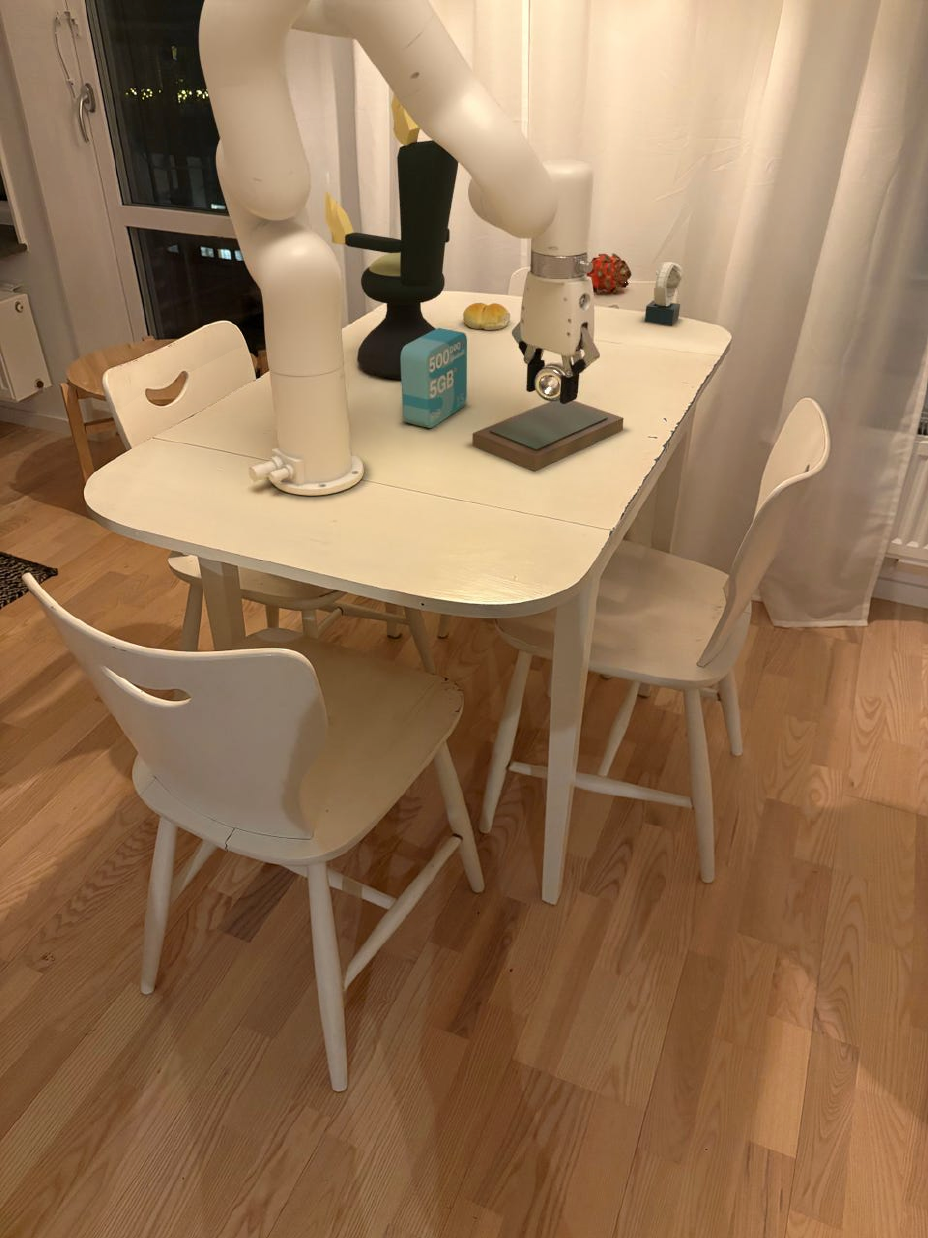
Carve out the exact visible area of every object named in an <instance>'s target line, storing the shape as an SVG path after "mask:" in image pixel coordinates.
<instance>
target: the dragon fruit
mask: <svg viewBox="0 0 928 1238" xmlns="http://www.w3.org/2000/svg"><path fill="white" fill-rule="evenodd" d="M590 262H591V263H592V264H593V269H592V271H591V272H590V273H587V275H586V276H588V277H591V280H592V285H593V291H596V292H597V294H598V295H600V294H602V293H605V291H607V292H608V294H615V293H617V288H618V289H624V288H627V287H628V286H629V285H630V283H629V280H630V279H631V277H632V275H633V274H632V272H631V271H632V270H630V266H629V265H628V264H627V262H626V261H625V260H623V259H622V258H621V257H620V256H619V255H617V253H613V252H612V253H611V256H610V255H609V254H607V253H598V256H597V257H592V259H591V261H590ZM625 282H626V283H625Z"/></svg>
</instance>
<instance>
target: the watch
mask: <svg viewBox="0 0 928 1238" xmlns="http://www.w3.org/2000/svg"><path fill="white" fill-rule="evenodd" d="M655 275H656V278H655V285H654V289H653V291H654V293H653V300H651V302H649V303H648V304H647V305H646V307H645V315H644V323H648V324H655V325H663V326H667V327H668V326H669V327H672V326H673V325H674V324H676V323H677V322H678V321H679V316H680V309H681V308H680V307H681V303H676V302H673V300H674V298H675V294H676V290H677V289H678V288H679V286H680V284H681V282H682V280H683V278H684V276H685V273H684V270H683V267H681V266H680V265H679V264H678V263H676V262H672V261H666V262H664V261H663V262H661V264H660V265H659V268H658V270H656V271H655Z"/></svg>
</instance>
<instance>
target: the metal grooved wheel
mask: <svg viewBox="0 0 928 1238" xmlns="http://www.w3.org/2000/svg"><path fill="white" fill-rule="evenodd" d="M564 375H565V372H564V367H563V362H560V361H550V362H548V363H545V366H544V367H543V368H542V369H541V370H539V371H538V373H537V374H536V376H535V380H534V386H535V389H536V390H535V392H536V393H537V395H538V396H539V397H540V398H541V399H543V400H545V401H547V402H550V401H557V400H560V386H561V377H562V376H564ZM552 378H554V379H556V380H557V383H554V381H553V380H552Z"/></svg>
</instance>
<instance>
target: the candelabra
mask: <svg viewBox="0 0 928 1238" xmlns="http://www.w3.org/2000/svg"><path fill="white" fill-rule="evenodd" d="M390 108H391V112H392V118H393V133H394V135H395V138H396V140H397V141H398V142H399V143H400V144H401V146H400V147H399V149H398V152H397V157H396V161H397V182H398V200H399V201H398V203H399V221H400V239H399V238H395V237H388V236H383V235H376V234H369V233H363V232H355V231H354V229H353V226H352V223H351V220H350V218H349V216H348V213H347V212H346V211H345V210H344V208H343V207H342V206H341V205H340V204H339V203H338V201H335V200H334V199H333V197H332V195H331V194H330V193H329V192H328V190H325V195H324V196H325V197H324V198H325V200H324V203H325V204H324V205H325V208H324V211H325V212H324V216H325V217H324V218H325V219H324V220H325V221H324V222H325V223H326V225H327V227H328V229H329V231H330V235H331V243H332V244H335V245H340V246H341V245H346V246H347V247H348V248H349V247H350V248H355V249H361V250H366V251H374V252H380V253H386V254H384V255H381V256H379V257H378V258H376V259H375V260H374V261H373V262H372V263H371V264H370V265H369V266H367V267H366V269H365V270H364V271H363V272H362V275H361V277H360V286H361V289H362V292H363V293H365V295H366V296H367V297H368V298H370V299H371V300H374V301H376V302H378V303H382V304H386V312H385V316H384V318H383V319H382V320H381V321H380V323H378V324H377V326H375V327H374V328H373V329H372V330H371V331H370V332H369V333H368V335H366V336H365V337H364V339H363V341H362V342H361V343H360V346H359V348H358V349H357V357H356V362H357V363H358V364H359V366H361V367H362V369H364V371H365V372H367V373H369V374H372V375H374V376H376V377H377V376H378V377H382V378H386V379H397V380H401V352H402V349H403V348H404V346H405V345H407V344H409V343H411V342H412V341H414V340H416V339H418V338H420V337H422V336H424V335H426V334H428V333H430V332H432V331H434V330H435V329H437V328H436V327H434V326H433V325H432V324H431V323H430V322H429V321H428V320H427V319H426V318H425V317H424V315H423V312H422V308H421V307H422V304H424V303H427V302H430V301H432V300H434V299H436V298H437V297H438V296H440V295H441V293H442V292H443V291H444V288H445V285H446V283H445V281H446V279H445V276H444V273H443V271H444V260H445V250H446V244H447V243H449V242H450V237H451V235H450V233H451V232H450V229H449V223H450V216H451V212H452V211H451V210H452V205H453V198H454V193H455V188H456V181H457V176H458V171H459V170H458V169H459V162H458V161H457V160H456V159H455V158H454V157H453V156H452V155H451V154H450V153H449V152H447V151H446V150H445V149H444V148H442V147H441V146H440V145H439V144H437V143H436V142H435V141H433V140H432V139H430V140H423V141H418V139H419V134H420V130H421V129H420V128H419V127H418V126H417V124H415V122H414V121H413V120H412V119H411V117H410V116H409V115H408V113H407V112H406V110H405V109H404V107H403V106H402V104H401V103H400V102H399V100H398V99H397V97H396V95H395V94H394V93H393V97H392V101H391V107H390Z"/></svg>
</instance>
